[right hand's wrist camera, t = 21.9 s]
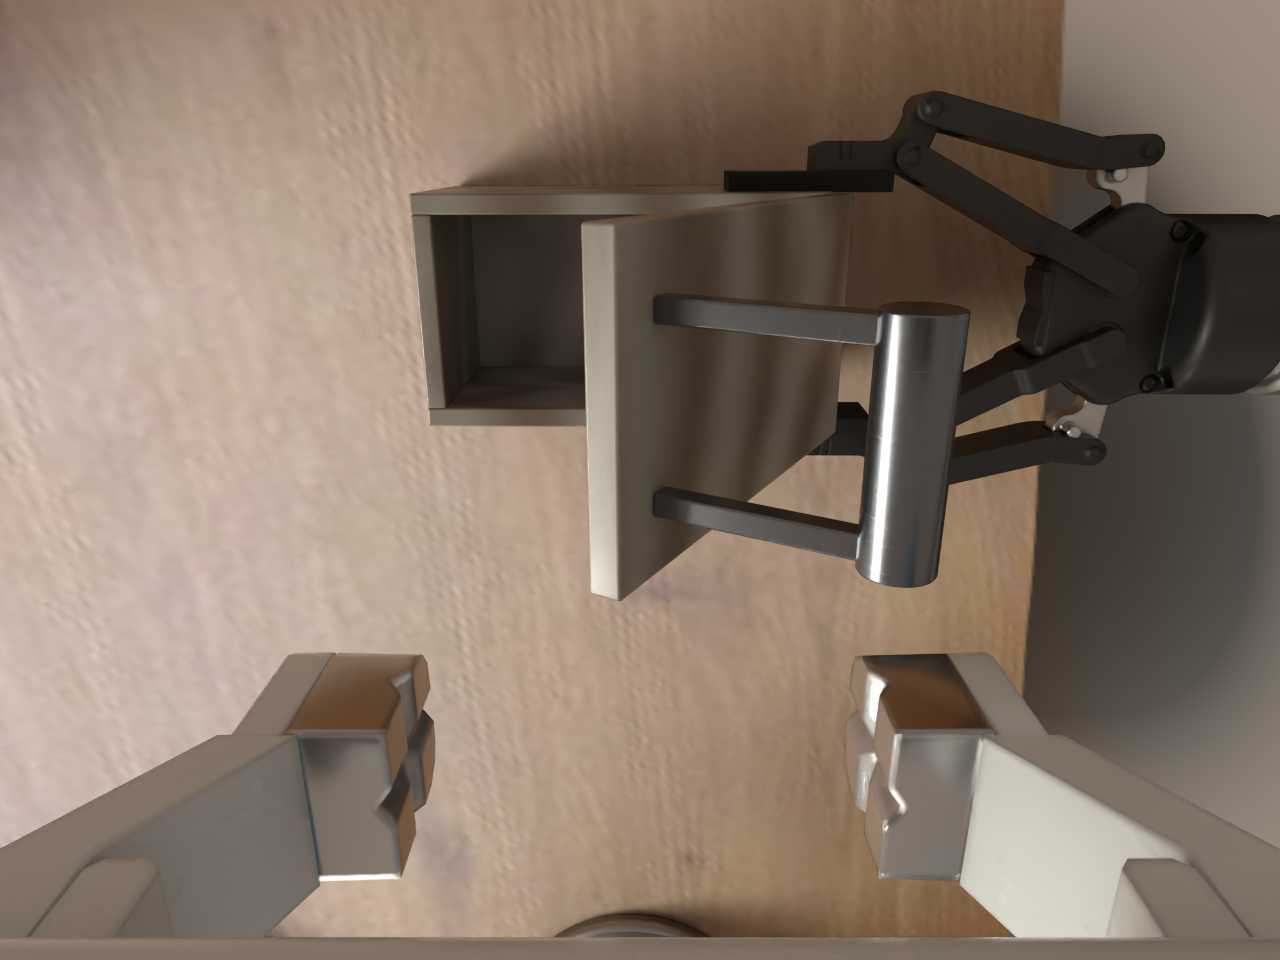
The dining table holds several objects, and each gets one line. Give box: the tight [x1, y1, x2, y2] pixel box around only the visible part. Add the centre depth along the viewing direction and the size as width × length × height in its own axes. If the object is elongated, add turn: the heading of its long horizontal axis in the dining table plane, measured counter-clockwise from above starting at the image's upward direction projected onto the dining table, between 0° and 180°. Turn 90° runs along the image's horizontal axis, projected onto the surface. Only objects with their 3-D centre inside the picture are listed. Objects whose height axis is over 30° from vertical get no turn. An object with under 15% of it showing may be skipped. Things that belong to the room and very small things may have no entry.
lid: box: [581, 193, 970, 601], centre depth 27 cm, size 17×9×8 cm
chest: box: [409, 185, 836, 426], centre depth 40 cm, size 17×9×9 cm, turn 90°
